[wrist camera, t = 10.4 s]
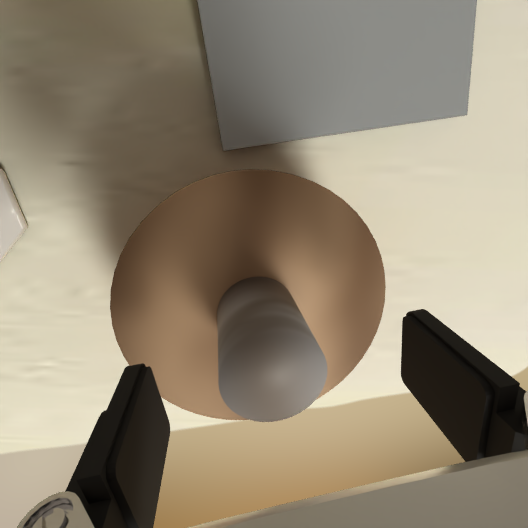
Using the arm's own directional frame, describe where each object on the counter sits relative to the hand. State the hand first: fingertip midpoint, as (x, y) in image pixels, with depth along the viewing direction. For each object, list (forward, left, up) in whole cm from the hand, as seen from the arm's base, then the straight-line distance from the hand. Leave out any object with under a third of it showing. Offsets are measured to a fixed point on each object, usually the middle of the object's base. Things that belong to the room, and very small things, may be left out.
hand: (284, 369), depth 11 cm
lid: (0, 0, -6) cm, 6 cm away
